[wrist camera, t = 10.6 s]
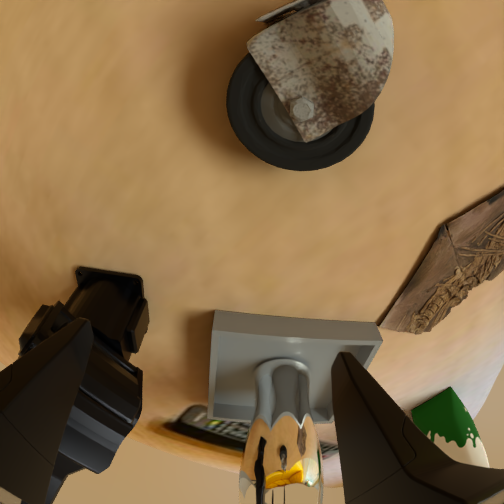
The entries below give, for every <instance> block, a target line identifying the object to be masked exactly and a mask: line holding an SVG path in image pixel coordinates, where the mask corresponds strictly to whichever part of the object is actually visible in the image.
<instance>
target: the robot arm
mask: <svg viewBox="0 0 504 504" xmlns="http://www.w3.org/2000/svg"><path fill="white" fill-rule="evenodd" d="M80 272H81V273H82V274H81V273H80ZM75 274H76V278H77V283H78V287H77V288H76V290H75V291H74V292H73V294H72V295H71V297H70V298H69V299H68V301H67V302H66V304H65V305H63V304H62V303H61V302H60V301H58V302H57V303H56V304H55V305H54V306H53V305H51V306H47V305H42V306H41V307H40V309H39V310H38V311H37V313H36V314H35V315H34V317H33V318H32V320H31V321H30V322H29V324H28V325H27V327H26V329H25V330H24V332H23V333H22V335H21V336H20V338H19V344H20V351H19V353H18V355H19V357H18V359H17V360H16V361H15V362H13V364H10V365H9V366H8V367H6V368H5V369H4V370H2V371H1V372H0V504H52V503H53V501H54V500H55V498H56V496H57V494H58V492H59V490H60V488H61V487H62V485H63V483H64V481H65V480H66V478H67V477H68V475H70V474H73V473H75V472H78V471H80V470H83V469H85V468H86V469H88V470H90V471H92V472H94V473H96V474H99V473H101V472H102V471H104V470H105V469H107V468H108V467H109V466H110V464H111V462H112V460H113V458H114V456H115V453H116V451H117V449H118V447H119V445H120V444H121V442H122V441H123V440H124V438H125V437H126V436H127V435H128V434H129V432H130V431H131V430H132V429H133V427H134V426H135V425H136V423H137V421H138V419H139V417H140V414H141V411H142V381H143V371H142V370H141V369H139V368H138V367H135V366H134V365H132V364H131V363H130V362H128V361H129V359H130V356H131V353H135V354H136V353H137V352H138V351H139V348H140V346H141V343H142V340H143V337H144V335H145V334H146V332H147V330H148V324H149V312H148V302H147V300H146V299H145V298H144V288H143V280H142V278H141V277H140V276H138V275H132V274H125V273H118V272H112V271H105V270H99V269H92V268H86V267H78V268H77V269H76V271H75ZM135 280H136V281H138V283H137V282H135ZM331 384H332V407H333V414H334V421H335V427H336V434H337V441H338V448H339V456H340V463H341V471H342V479H343V488H344V496H345V504H504V469H494V468H487V467H481V466H476V465H470V464H465V463H461V462H458V461H455V460H453V459H452V458H450V457H449V456H448V455H447V454H446V453H444V452H443V451H442V450H441V449H440V448H439V447H438V446H437V445H436V444H435V443H433V442H432V441H431V440H430V439H429V438H428V437H427V436H426V435H425V434H424V433H423V432H422V431H421V430H420V429H419V428H418V427H417V426H416V425H415V424H414V423H413V422H412V421H411V419H410V418H409V417H408V416H407V415H406V414H405V413H404V412H403V411H402V409H401V408H400V407H399V406H398V405H397V404H396V403H395V402H394V400H393V399H392V398H391V397H390V396H389V395H388V394H387V393H386V391H385V390H384V389H383V388H382V387H381V386H380V385H379V384H378V382H377V381H376V380H375V379H374V378H373V377H372V376H371V375H370V373H369V372H368V371H367V370H366V369H365V368H364V367H363V366H362V364H361V363H360V362H359V361H358V360H357V359H356V358H355V357H354V356H353V354H352V353H351V352H346V351H340V352H339V353H338V354H337V356H336V358H335V360H334V362H333V364H332V367H331ZM405 415H406V416H405Z"/></svg>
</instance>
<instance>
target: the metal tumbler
mask: <svg viewBox="0 0 504 504" xmlns="http://www.w3.org/2000/svg"><path fill="white" fill-rule="evenodd" d="M252 382H253V388H254V396H255V404H254V411H253V415H252V419H251V423H250V426H249V430H248V433H247V437H246V440H245V444H244V448H243V453H242V457H241V465H240V476H239V504H322V501H323V484H324V478H323V461H322V453H321V449H320V444H319V440H318V436H317V432H316V429H315V425H314V422H313V418H312V414H311V410H310V404H309V391H310V384H311V371H310V369H309V368H308V367H307V366H306V365H305V364H303V363H301V362H299V361H296V360H292V359H274V360H270V361H267V362H264V363H262V364H260V365H259V366H258V367H256V368H255V370H254V371H253V374H252Z"/></svg>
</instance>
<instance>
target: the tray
mask: <svg viewBox="0 0 504 504" xmlns="http://www.w3.org/2000/svg"><path fill="white" fill-rule="evenodd" d="M382 342H383V339H382V337H381V335H380V332H379V330H378V328H377V325H376V323H375V322H352V321H334V320H318V319H304V318H291V317H279V316H268V315H257V314H247V313H238V312H229V311H220V310H215V314H214V321H213V327H212V339H211V356H210V373H209V393H208V416H207V419H215V420H225V421H237V422H251V419H252V415H253V411H254V404H255V396H254V388H253V382H252V374H253V371H254V370H255V368H256V367H258V366H259V365H260V364H262V363H264V362H267V361H270V360H274V359H292V360H296V361H299V362H301V363H303V364H305V365H306V366H307V367H308V368H309V369H310V371H311V384H310V391H309V404H310V410H311V414H312V418H313V422H314V424H326V423H332V422H333V421H334V414H333V407H332V384H331V367H332V364H333V362H334V360H335V358H336V356H337V354H338V353H339V352H340V351H346V352H351V353H352V354H353V356H354V357H355V358H356V359H357V360H358V361H359V362H360V363H361V364H362V366H363V367H364V368H365V369H366V370H367V368H368V367H369V365H370V363H371V361H372V360H373V358H374V356H375V354H376V353H377V351H378V349H379V347H380V345H381V344H382Z"/></svg>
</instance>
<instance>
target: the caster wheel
mask: <svg viewBox="0 0 504 504" xmlns="http://www.w3.org/2000/svg"><path fill="white" fill-rule="evenodd" d="M293 10H295V11H297V12H296V13H294V14H292V15H290V16H288V17H286V18H285V19H283V20H281V21H279V22H277V23H275V24H274V25H272V26H270V27H268V28H267V29H265V30H263V31H261V32H260V33H258V34H256V35H255V36H253V37H252V38H251V39H250V40H249V41H248V42H247V43H246V44H247V49H248V50H249V52H250V53H248V54H247V55H246V56H245V57H244V58H243V60H242V61H241V62H240V63H239V64H238V65H237V67H236V69H235V71H234V73H233V75H232V77H231V79H230V82H229V85H228V89H227V97H226V106H227V113H228V117H229V120H230V123H231V126H232V128H233V130H234V132H235V134H236V136H237V137H238V139H239V140H240V141H241V142H242V144H243V145H244V146H245V147H246V148H247V149H248V150H249V151H250V152H251V153H253V154H254V155H255V156H257V157H258V158H260V159H261V160H263V161H265V162H266V163H269V164H271V165H274V166H276V167H279V168H283V169H287V170H294V171H312V170H318V169H322V168H326V167H329V166H332V165H334V164H336V163H338V162H340V161H342V160H344V159H345V158H347V157H348V156H349V155H351V154H352V153H353V152H354V151H355V150H356V149H357V148H358V147H359V146H360V145H361V144H362V142H363V141H364V139H365V138H366V136H367V134H368V132H369V130H370V127H371V124H372V121H373V116H374V107H375V104H374V102H375V100H376V99H377V97H378V96H379V94H380V93H381V91H382V89H383V87H384V85H385V83H386V81H387V78H388V75H389V72H390V68H391V64H392V59H393V50H394V31H393V22H392V18H391V15H390V14H389V12H388V10H387V8H386V6H385V4H384V2H383V1H382V0H295V1H293V2H291V3H288V4H286V5H284V6H282V7H280V8H277V9H275V10H273V11H271V12H269V13H267V14H265V15H263V16H261V17H259V18H258V19H256V20H255V21H260V22H269V21H271V20H273V19H275V18H277V17H279V16H281V15H284V14H286V13H288V12H290V11H293Z"/></svg>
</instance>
